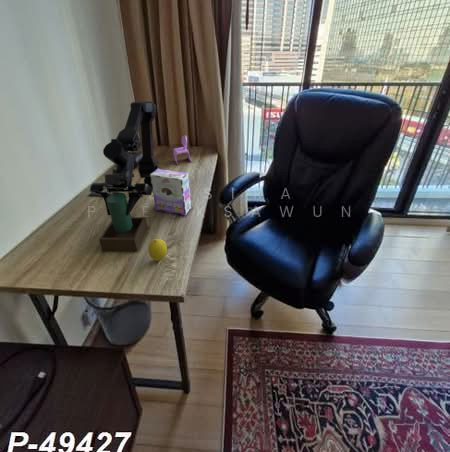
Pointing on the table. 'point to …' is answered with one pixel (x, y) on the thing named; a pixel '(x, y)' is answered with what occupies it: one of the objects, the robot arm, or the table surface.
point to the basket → (124, 236)
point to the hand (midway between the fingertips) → (118, 215)
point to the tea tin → (119, 212)
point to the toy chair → (182, 149)
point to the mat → (101, 195)
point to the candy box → (171, 191)
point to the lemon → (157, 249)
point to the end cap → (137, 158)
